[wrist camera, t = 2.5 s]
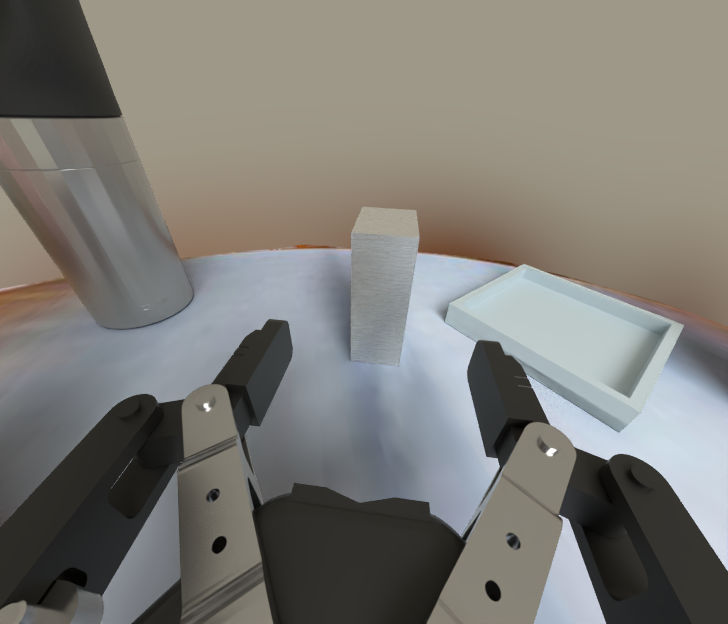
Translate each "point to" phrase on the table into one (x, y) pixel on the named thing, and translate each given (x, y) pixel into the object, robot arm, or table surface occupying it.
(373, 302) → the aluminium block
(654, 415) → the table surface
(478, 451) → the table surface
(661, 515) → the robot arm
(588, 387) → the blue-grey tray
